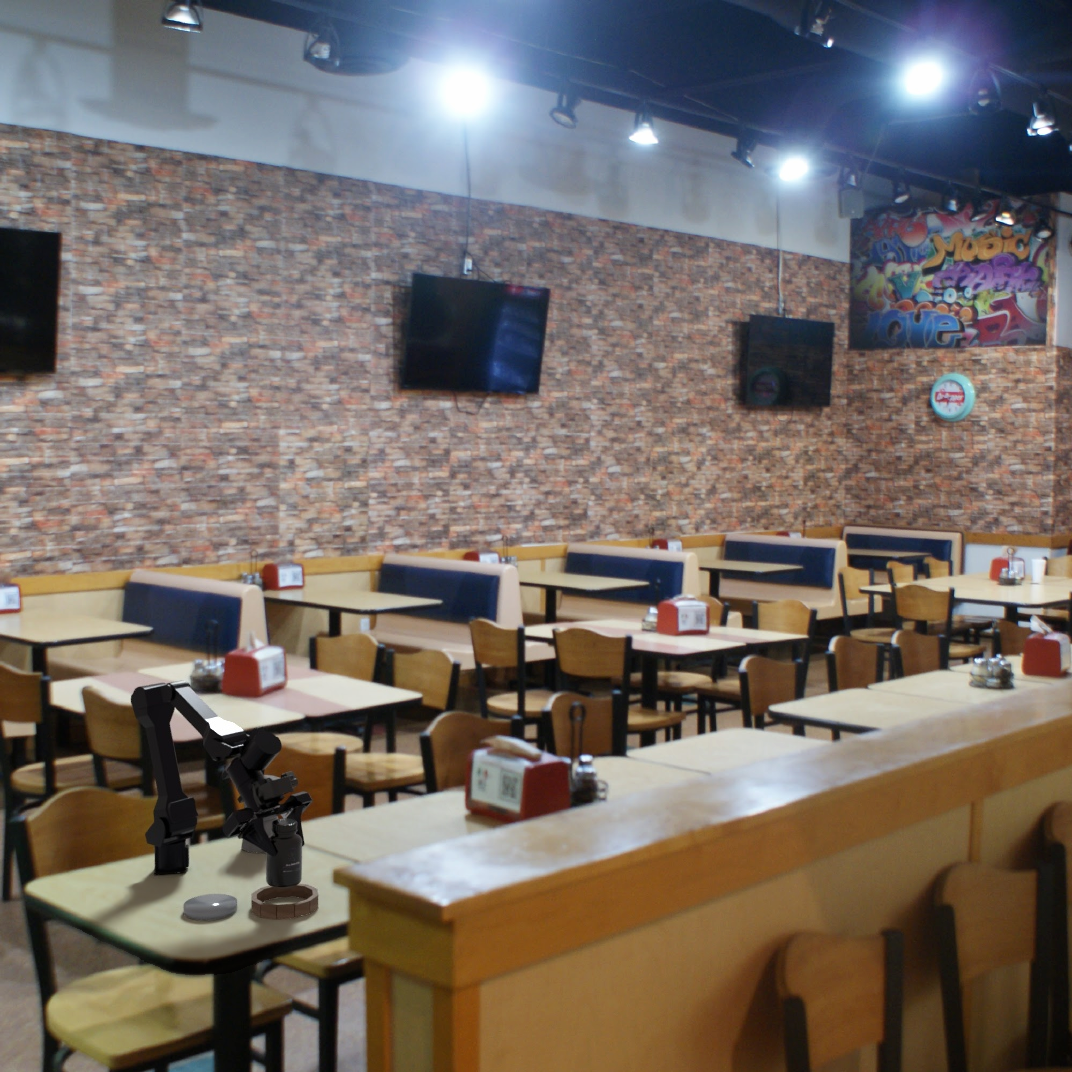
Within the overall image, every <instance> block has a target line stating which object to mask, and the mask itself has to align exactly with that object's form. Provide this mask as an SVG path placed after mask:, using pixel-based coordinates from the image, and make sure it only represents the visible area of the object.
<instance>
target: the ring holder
mask: <svg viewBox="0 0 1072 1072" xmlns="http://www.w3.org/2000/svg"><path fill="white" fill-rule="evenodd" d="M250 895H251V904H250V905H251V914H253V915H255V916H257V917H259V918H262V919H269V920H270V919H271V920H288V919H290V918H291V919H297V918H300V916H301V915H304V916H307V915H306V914H308V915H310V914H312V913H313V912H314V911H316V910H317V909H319V892H318V888H317V887H315V886H312V885H309V884H308V883H307V884H306V883H299V884H298V885H296V886H292V887H287V888H277V887H272V886H270V885H267V886H263V887H260V888H258V889H257V890H255V891H253V892H252V893H251V894H250ZM297 897H299V898H298V899H305V900H301V901H298V902H293V903H283V904H282V903H281V904H275V903H268V902H267V901H272V900H275V899H280V898H281V899H282V898H283V899H284V898H297ZM311 912H312V913H311ZM309 913H310V914H309ZM301 917H302V916H301Z"/></svg>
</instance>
